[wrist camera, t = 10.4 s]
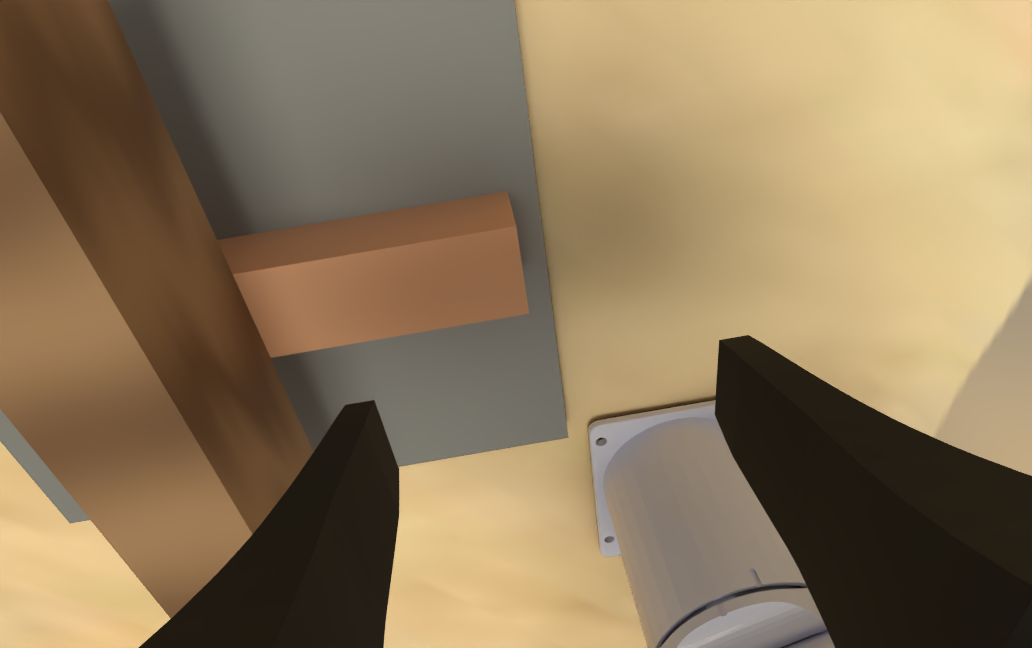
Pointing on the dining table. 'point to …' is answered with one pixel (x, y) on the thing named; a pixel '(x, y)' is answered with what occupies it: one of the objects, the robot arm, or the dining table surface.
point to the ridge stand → (365, 209)
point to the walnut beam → (127, 311)
